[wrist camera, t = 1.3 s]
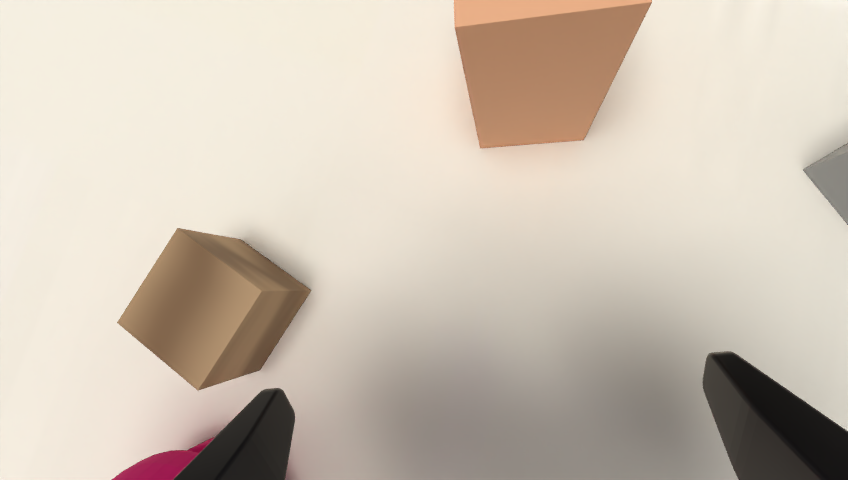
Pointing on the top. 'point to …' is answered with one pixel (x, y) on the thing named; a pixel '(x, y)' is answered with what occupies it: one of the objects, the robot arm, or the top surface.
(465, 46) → the terracotta block
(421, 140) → the top surface
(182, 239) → the walnut cube
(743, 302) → the top surface
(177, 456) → the pepper mill
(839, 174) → the slate cube
